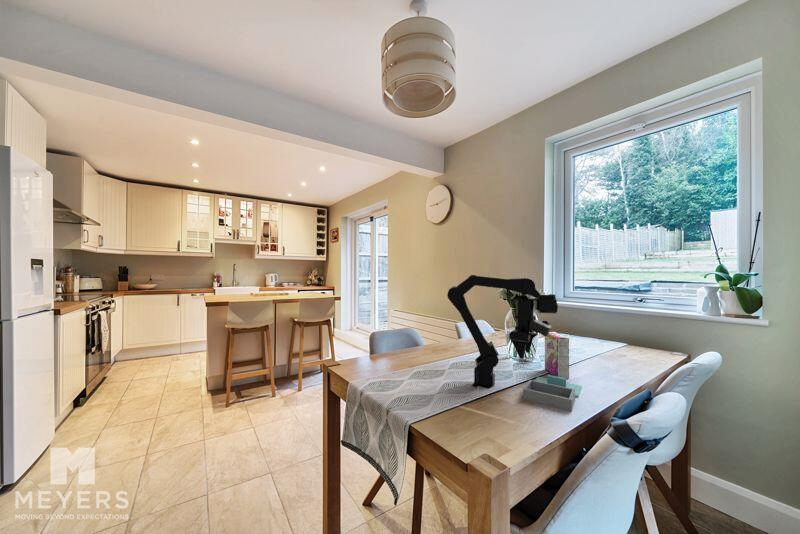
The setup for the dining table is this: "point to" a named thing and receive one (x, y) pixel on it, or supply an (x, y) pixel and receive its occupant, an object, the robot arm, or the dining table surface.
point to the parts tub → (549, 394)
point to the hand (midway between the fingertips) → (524, 355)
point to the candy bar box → (557, 355)
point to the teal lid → (560, 383)
